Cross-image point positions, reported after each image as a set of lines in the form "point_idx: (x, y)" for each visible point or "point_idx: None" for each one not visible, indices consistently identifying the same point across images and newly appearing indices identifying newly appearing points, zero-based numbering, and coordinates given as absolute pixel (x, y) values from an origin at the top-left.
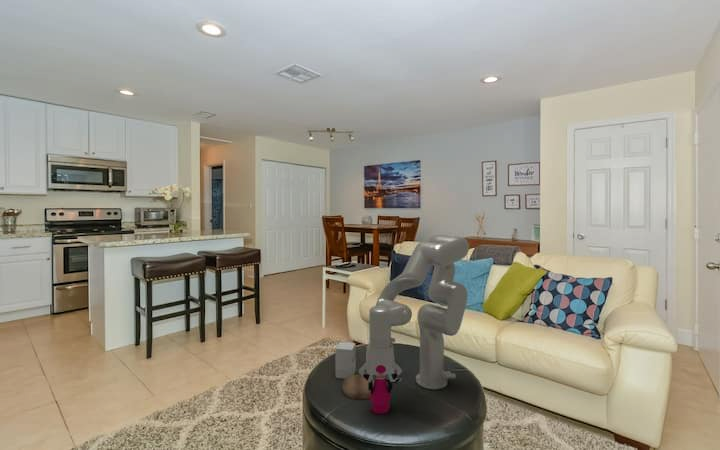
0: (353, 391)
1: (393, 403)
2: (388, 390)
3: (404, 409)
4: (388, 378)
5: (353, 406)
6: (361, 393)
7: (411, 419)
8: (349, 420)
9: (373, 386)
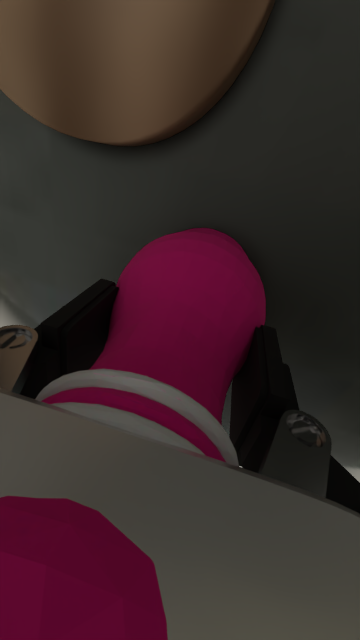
0: (24, 94)
1: (300, 251)
2: (238, 373)
3: (329, 325)
4: (268, 398)
5: (60, 213)
6: (88, 138)
7: (312, 396)
8: (47, 315)
9: (108, 333)
